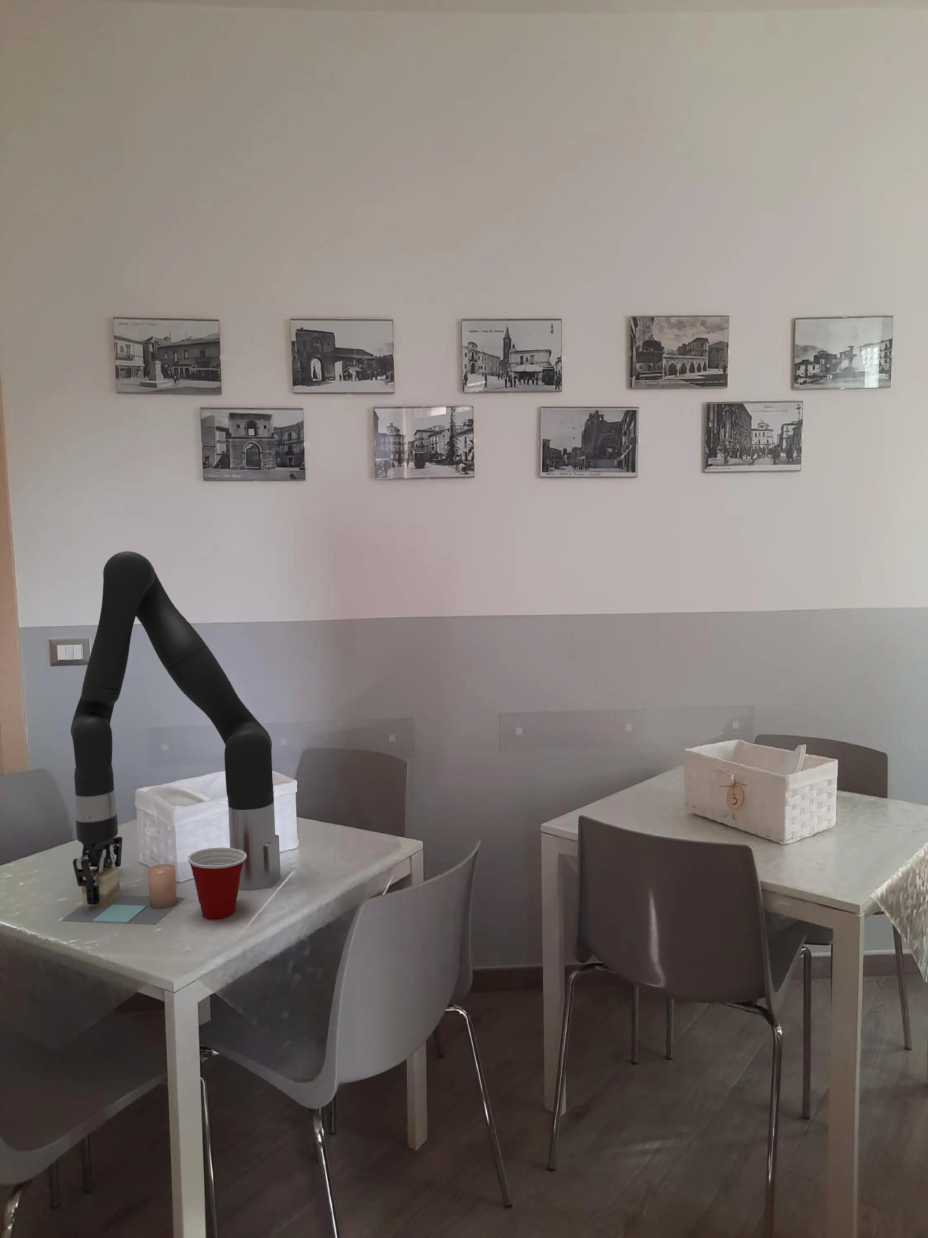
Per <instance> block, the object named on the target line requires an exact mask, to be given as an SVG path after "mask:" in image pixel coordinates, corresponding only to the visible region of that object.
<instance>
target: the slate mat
mask: <svg viewBox="0 0 928 1238" xmlns="http://www.w3.org/2000/svg"><path fill="white" fill-rule="evenodd" d="M184 899H185V897H181V896H180V897H177V903H176V904H175V905H173V906H171V907H168V908H163V909H154V908H151V907H150V897H149V896H148V895H147V896H146V895H145V896H144V895H124V894H123V895H121V894H120V897H119V898H118V899H116V900H115V901H114V902H112V903H111V904H110V905H109V906H107V907H90V906H83V904H81V905H80V906H79V907H77V908H76V909H74V910H73V911H72V912H70V913H68V914H67V915H66V916H65V917H63V918H62V919H61V920H60V922H71V923H72V922H74V923H75V922H76V923H93V922H92V920H94V919H95V918H96V917H98V916H99V915H100V914H101V913H103V912H104V911H105V910H107V909H108V908H109V907H110V906H112V905H136V906H146V908H145V909H144V910H143V911H142V912H140V913H139V914H138V915H137V916H136V917H135V918H133V919H132V920H131V921H130V922H129V923H121V925H122V924H125V925H126V924H127V925H147V926H149V925H151V926H152V925H153V926H155V925H157V924H158V923H159V922H160V921H161V920H162V919H163V918H164V917H166V916H167V915H168V914H169V913H171V911H172V910H174V909H175V908H176V907H177V906H178V904H180V903H181V902H182V901H184ZM95 923H101V924H103V923H102V922H95Z"/></svg>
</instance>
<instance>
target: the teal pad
mask: <svg viewBox="0 0 928 1238" xmlns="http://www.w3.org/2000/svg"><path fill="white" fill-rule="evenodd" d="M145 908H146V906H136V905H112V906H110V907H109V908H108V909H107V910H105V911H104V912H103V913H101V914H100V915H99V916H98V917H96V918H95V919H94V920H92V922H91V923H96V922H102V923H101V924H122V923H129V922H130V921H131V920H132V919H133V918H135V917H136V916H137V915H138V914H139V913H140V912H142V911H143V910H144V909H145Z"/></svg>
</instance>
